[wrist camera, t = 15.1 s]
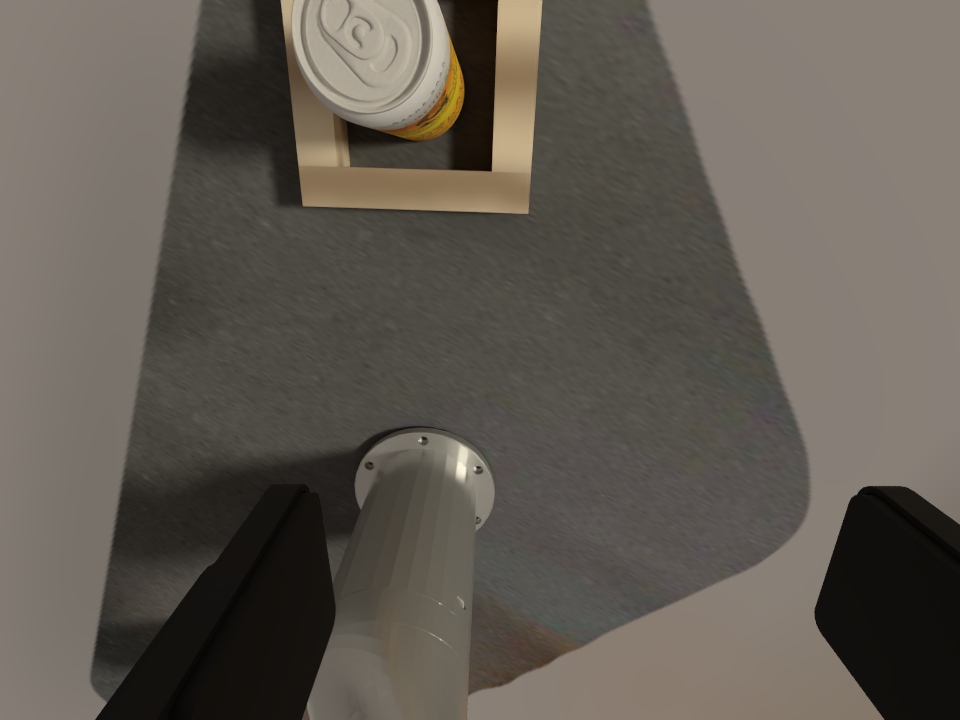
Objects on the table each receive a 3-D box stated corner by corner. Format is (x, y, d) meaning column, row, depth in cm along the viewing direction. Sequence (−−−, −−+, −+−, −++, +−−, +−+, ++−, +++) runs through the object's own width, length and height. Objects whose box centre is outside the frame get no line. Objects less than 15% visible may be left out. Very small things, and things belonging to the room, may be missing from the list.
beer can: (429, 160, 33) (382, 158, 19) (356, 99, 32) (250, 48, 18) (483, 82, 31) (475, 18, 17) (408, 13, 30) (335, -116, 16)
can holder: (525, 209, 34) (528, 213, 31) (318, 202, 34) (302, 206, 32) (541, -52, 29) (547, -75, 26) (293, -59, 29) (272, -82, 26)
